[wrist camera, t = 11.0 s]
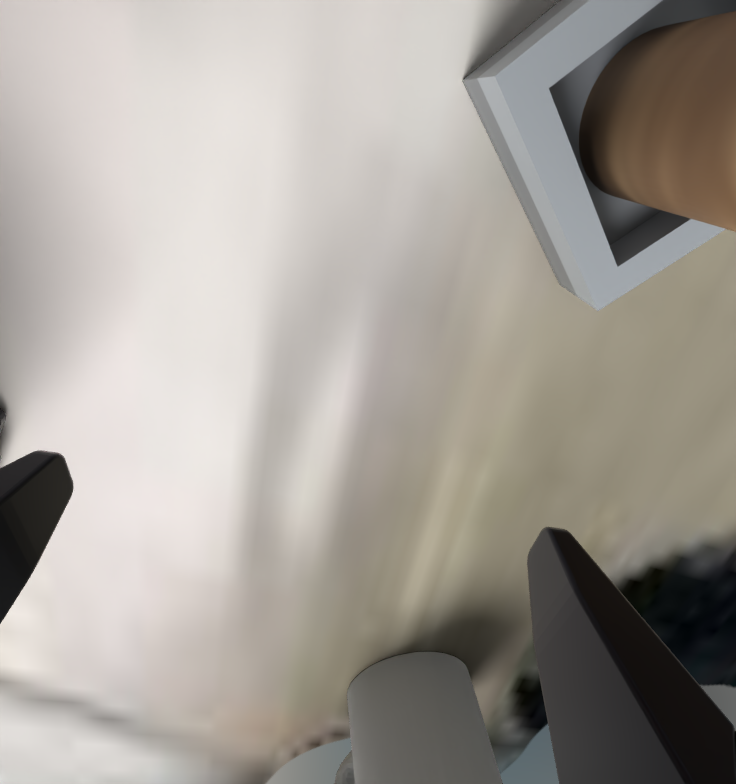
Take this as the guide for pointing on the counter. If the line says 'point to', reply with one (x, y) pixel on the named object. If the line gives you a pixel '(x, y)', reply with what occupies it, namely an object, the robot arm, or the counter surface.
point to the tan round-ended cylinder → (668, 121)
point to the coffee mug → (417, 725)
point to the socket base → (561, 143)
